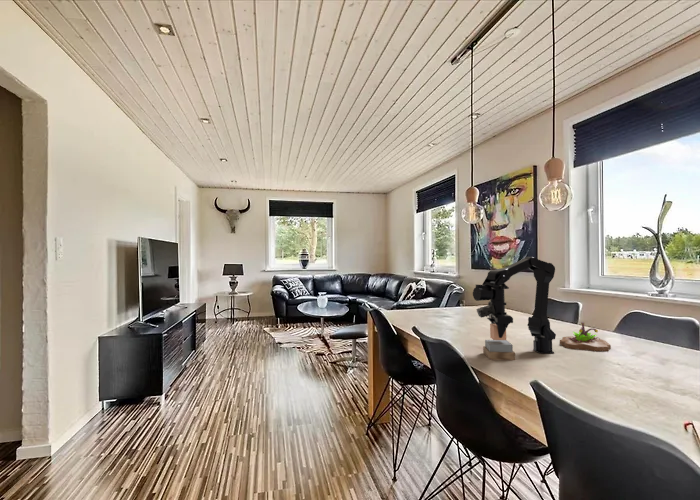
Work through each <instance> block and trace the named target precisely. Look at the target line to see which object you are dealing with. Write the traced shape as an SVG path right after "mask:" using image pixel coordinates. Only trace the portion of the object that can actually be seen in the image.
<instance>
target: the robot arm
mask: <svg viewBox="0 0 700 500" xmlns="http://www.w3.org/2000/svg"><path fill="white" fill-rule="evenodd" d="M527 269H529V270H530V271H532V272H533V277H534V280H535V281H536V287H535V298H534V299H535V301H534V310H533V311H534V313H533V314H532V316H528V319H527V325H526V326H527V327H528V330H529V332H530V335H531V336H532V337H534V340H533V348H532V350H533V351H535V352H536V353H538V354H555V352H554V351H553V340H555V339H556V337H557V334H556V333H555V332H554V330H552V329H551V322H550V319H549V318H548V314H547V313H548V304H549V303H548V301H549V289H550V283H551V282H552V280H553V279H554V277H555V272H556V267H555V266H554V264H553V263H552V262H547V261H544V260H541V259H538V258H536V257H533V256H525V257H523V258H522V259H520V260H517V261H516V262H514V263H512V264H509V265H508V266H505V267H502V268H497V269H492V270H489V271H488V272H487V275H486V277H485V279H484V280H483V283H482V284H475V286H474V288H473V291H472V297H473V299H474V300H475V301H478V302H479V301H482V302H483V301H488V302H487V303H488V305H484V306H482V307H478V308H477V309H476V313H477V316H478V317H480V318H485V317H486V319H487V320H488V321H490V322H491V323H490V324H496V325H497V329H498V335H499V338H502V337H503V334H504V332H505V330H506V331H507V329H508V326H509V325H510V324H513V323H514V318H513V316H511V315H509V314H507V312H506V306H507V302H506V301H505V299H506V298H505V290H509V289H510V287H509V286H508V285H506V283H507V282H508V281H509V280H510V279H511V277H512V276H515V275H517V274H519V273H521V272H523V271H525V270H527Z"/></svg>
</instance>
